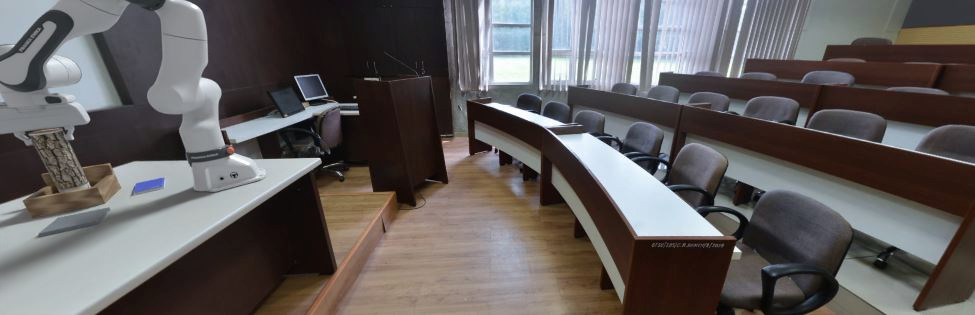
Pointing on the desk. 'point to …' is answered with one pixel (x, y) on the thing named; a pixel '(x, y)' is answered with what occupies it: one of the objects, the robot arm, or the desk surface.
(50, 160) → the wooden log
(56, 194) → the frame
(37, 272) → the desk surface
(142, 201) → the desk surface
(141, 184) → the hard drive
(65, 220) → the slate pad
